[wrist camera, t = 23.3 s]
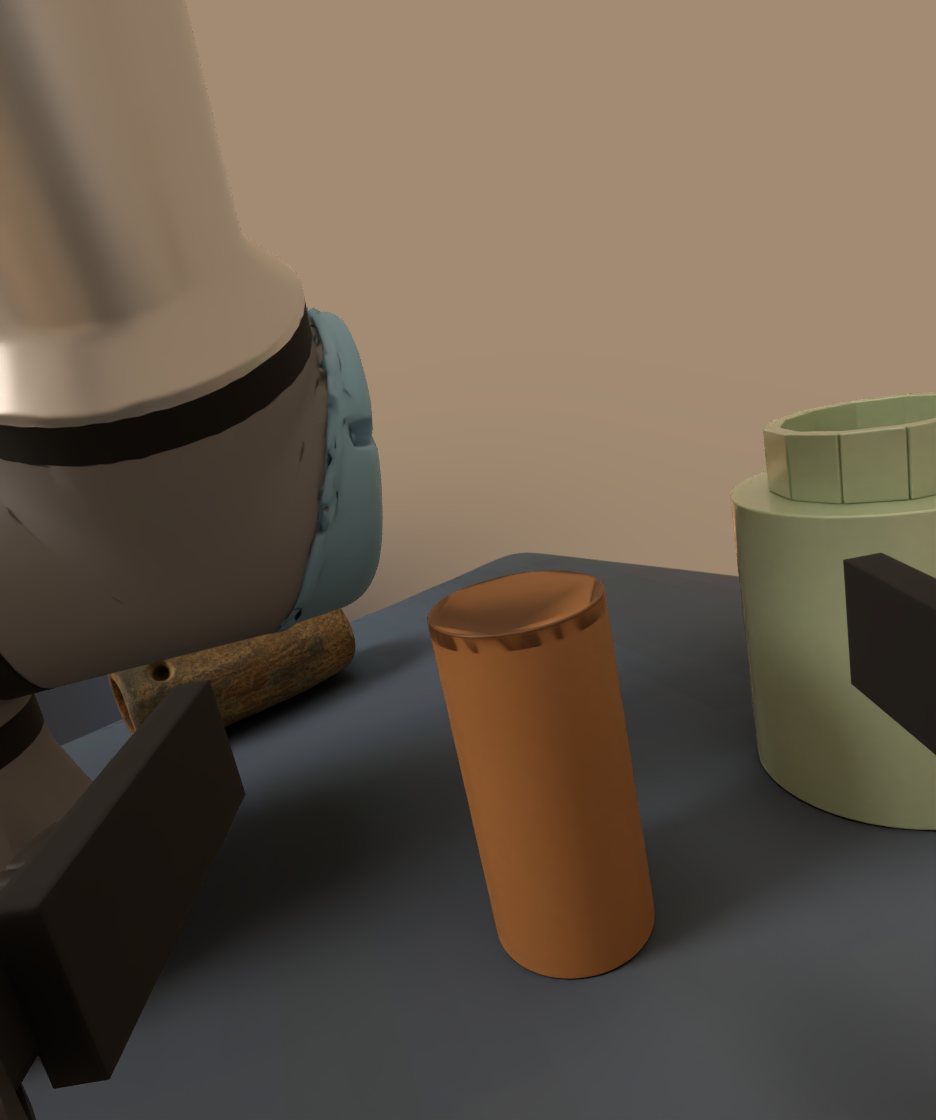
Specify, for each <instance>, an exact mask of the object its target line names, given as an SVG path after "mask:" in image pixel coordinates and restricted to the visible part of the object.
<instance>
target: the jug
mask: <svg viewBox="0 0 936 1120" xmlns="http://www.w3.org/2000/svg"><path fill="white" fill-rule="evenodd" d="M763 433H764V443H765V455H766V465H767V471H765V472H762V473H759V474H757V475H754V476H752V477H750V478H748V479H746V480H744V481H742V482H741V483H739V484H738V485H737V486H735V487H734V488H733V490H732V492H731V494H730V498H731V508H732V517H733V525H734V535H735V545H736V555H737V564H738V572H739V583H740V592H741V601H742V611H743V620H744V629H745V639H746V648H747V657H748V667H749V676H750V685H751V695H752V704H753V713H754V723H755V732H756V741H757V751H758V755H759V758H760V761H761V763H762V765H763V767H764V768H765V770H766V771H767V773H768V774H769V775H770V776H771V777H772V778H773V780H774V781H775V782H777V783H778V784H779V785H780V786H781V787H782V788H784V789H785V790H786V791H788V792H789V793H791V794H792V795H794V796H795V797H797V798H799V799H801V800H803V801H805V802H806V803H808V804H810V805H812V806H815V807H817V808H819V809H822V810H824V811H827V812H829V813H832V814H835V815H838V816H842V817H845V818H848V819H852V820H856V821H860V822H864V823H868V824H874V825H880V826H886V827H892V828H903V829H913V830H936V755H935V754H934V753H933V752H931V751H930V750H929V749H928V748H927V747H925V746H924V745H923V744H922V743H921V742H920V741H918V740H917V739H916V738H915V737H914V736H912V735H911V734H910V733H909V732H908V731H906V730H905V729H904V728H903V727H902V726H901V725H899V724H898V723H897V722H896V721H895V720H893V719H892V718H891V717H890V716H889V715H888V714H886V713H885V712H884V711H883V710H882V709H880V708H879V707H878V706H877V705H876V704H875V703H873V702H872V701H871V700H870V699H869V698H867V697H866V696H865V695H864V694H863V693H861V692H860V691H859V690H858V689H857V688H856V687H854V686H853V685H852V684H851V675H850V660H849V644H848V628H847V613H846V597H845V581H844V566H843V560H845V559H850V558H855V557H860V556H866V555H871V554H876V553H883V554H886V555H888V556H890V557H892V558H894V559H896V560H898V561H900V562H902V563H905V564H907V565H909V566H911V567H913V568H915V569H917V570H919V571H921V572H923V573H926V574H928V575H930V576H932V577H934V578H936V392H927V393H910V394H901V395H893V396H885V397H878V398H869V399H862V400H855V401H848V402H843V403H838V404H833V405H828V406H823V407H817V408H813V409H808V410H805V411H800V412H797V413H794V414H791V415H788V416H785V417H782V418H778V419H776V420H773V421H771V422H770V423H769V424H768V425H767V426H766V427H765V428H764V430H763Z"/></svg>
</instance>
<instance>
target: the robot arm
mask: <svg viewBox="0 0 936 1120" xmlns="http://www.w3.org/2000/svg"><path fill="white" fill-rule="evenodd" d="M372 430H373V427H372V411H371V402H370V397H369V391H368V386H367V382H366V378H365V374H364V370H363V367H362V363H361V359H360V356H359V353H358V350H357V348H356V345H355V342H354V340H353V338H352V336H351V333H350V331H349V329H348V327H347V326H346V324H345V323H344V321H343V320H342V319H340V318H339V317H338V316H336V315H335V314H333V313H331V312H320V311H318V310H316V309H315V308H312V309H310V310H308V308H306V303H305V298H304V293H303V289H302V284H301V281H300V279H299V277H298V275H297V273H296V272H295V271H294V270H293V269H292V268H291V267H290V266H289V265H288V264H287V263H286V262H285V261H283V260H282V259H281V258H279V257H278V256H276V255H275V254H273V253H272V252H270V251H268V250H267V249H265V248H264V247H262V246H261V245H259V244H258V243H256V242H255V241H253V240H252V239H250V238H249V237H247V236H245V235H244V234H243V233H242V232H241V229H240V225H239V221H238V217H237V213H236V209H235V204H234V200H233V196H232V192H231V188H230V184H229V180H228V175H227V171H226V167H225V163H224V159H223V155H222V151H221V146H220V143H219V138H218V134H217V130H216V126H215V122H214V117H213V113H212V109H211V105H210V101H209V97H208V93H207V88H206V84H205V80H204V76H203V72H202V68H201V64H200V59H199V55H198V51H197V47H196V43H195V39H194V35H193V31H192V26H191V22H190V18H189V14H188V10H187V6H186V2H185V0H0V1120H36V1118H35V1115H34V1112H33V1109H32V1106H31V1103H30V1101H29V1099H28V1096H27V1094H26V1092H25V1090H24V1088H23V1085H22V1083H21V1082H22V1080H23V1079H24V1077H25V1075H26V1074H27V1072H28V1070H29V1069H30V1067H31V1065H32V1064H33V1062H34V1060H35V1059H36V1057H37V1055H39V1057H40V1059H41V1061H42V1064H43V1066H44V1068H45V1070H46V1073H47V1075H48V1077H49V1079H50V1082H51V1084H52V1086H53V1088H54V1089H55V1088H61V1087H67V1086H73V1085H79V1084H85V1083H90V1082H96V1081H102V1080H108V1079H110V1077H111V1075H112V1073H113V1071H114V1069H115V1067H116V1064H117V1062H118V1060H119V1058H120V1056H121V1054H122V1052H123V1050H124V1048H125V1046H126V1044H127V1041H128V1039H129V1037H130V1035H131V1033H132V1031H133V1029H134V1027H135V1025H136V1023H137V1020H138V1018H139V1016H140V1014H141V1012H142V1010H143V1008H144V1006H145V1004H146V1002H147V1000H148V997H149V995H150V993H151V991H152V989H153V987H154V985H155V983H156V981H157V979H158V976H159V974H160V972H161V970H162V968H163V966H164V964H165V962H166V960H167V958H168V956H169V953H170V951H171V949H172V947H173V945H174V943H175V941H176V939H177V937H178V935H179V932H180V930H181V928H182V926H183V924H184V922H185V920H186V918H187V916H188V914H189V912H190V909H191V907H192V905H193V903H194V901H195V899H196V897H197V895H198V893H199V891H200V888H201V886H202V884H203V882H204V880H205V878H206V876H207V874H208V872H209V870H210V868H211V865H212V863H213V861H214V859H215V857H216V855H217V853H218V851H219V849H220V847H221V844H222V842H223V840H224V838H225V836H226V834H227V832H228V830H229V828H230V826H231V824H232V821H233V819H234V817H235V815H236V813H237V811H238V809H239V807H240V805H241V803H242V800H243V798H244V796H245V791H244V788H243V785H242V782H241V778H240V775H239V772H238V769H237V766H236V763H235V759H234V756H233V753H232V750H231V747H230V743H229V740H228V737H227V734H226V731H225V727H224V724H223V721H222V718H221V715H220V712H219V708H218V705H217V702H216V699H215V696H214V692H213V689H212V686H211V683H210V680H204V681H199V682H194V683H188V684H183V685H178V686H174V687H173V688H172V689H171V690H170V691H169V692H168V694H167V695H166V696H165V697H164V698H163V700H162V701H161V702H160V703H159V704H158V705H157V707H156V708H155V709H154V710H153V711H152V713H151V714H150V715H149V716H148V717H147V718H146V720H145V721H144V722H143V723H142V724H141V726H140V727H139V728H138V729H137V730H136V731H135V733H134V734H133V735H132V736H131V737H130V739H129V740H128V741H127V742H126V743H125V744H124V746H123V747H122V748H121V749H120V750H119V752H118V753H117V754H116V755H115V756H114V758H113V759H112V760H111V761H110V762H109V763H108V765H107V766H106V767H105V768H104V769H103V771H102V772H101V773H100V774H99V775H98V776H97V778H96V779H95V780H94V781H93V782H92V781H91V779H90V778H89V777H88V776H87V775H86V774H85V773H84V772H83V771H82V770H81V768H80V767H79V766H78V765H77V764H76V763H75V762H74V761H73V760H72V759H71V757H70V756H69V755H68V754H67V753H66V752H65V751H64V750H63V749H62V748H61V746H60V745H59V744H58V743H57V742H56V741H55V740H54V739H53V737H52V736H51V734H50V732H49V730H48V728H47V725H46V723H45V720H44V718H43V715H42V713H41V710H40V708H39V705H38V702H37V700H36V697H35V695H34V693H37V692H41V691H44V690H50V689H53V688H56V687H60V686H64V685H68V684H72V683H76V682H80V681H83V680H88V679H92V678H96V677H100V676H103V675H108V674H112V673H116V672H119V671H123V670H127V669H131V668H135V667H139V666H143V665H147V664H151V663H155V662H159V661H163V660H167V659H171V658H175V657H179V656H182V655H186V654H190V653H194V652H198V651H202V650H206V649H210V648H214V647H218V646H222V645H226V644H230V643H234V642H238V641H242V640H246V639H249V638H253V637H257V636H261V635H265V634H269V633H270V634H274V633H279V632H283V631H286V630H288V629H289V628H291V627H292V626H293V625H295V624H296V623H298V622H301V621H304V620H307V619H310V618H313V617H316V616H319V615H322V614H325V613H328V612H331V611H334V610H337V609H340V608H343V607H345V606H347V605H349V604H351V603H353V602H354V601H356V600H357V599H358V598H359V597H361V596H362V595H363V594H364V592H365V591H366V590H367V588H368V587H369V585H370V583H371V582H372V580H373V578H374V575H375V573H376V570H377V567H378V563H379V557H380V551H381V543H382V489H381V488H382V487H381V474H380V464H379V456H378V449H377V447H376V444H375V442H374V440H373V437H372ZM843 566H844V581H845V597H846V613H847V628H848V644H849V660H850V675H851V684H852V685H853V686H854V687H856V688H857V689H858V690H859V691H860V692H861V693H863V694H864V695H865V696H866V697H867V698H869V699H870V700H871V701H872V702H873V703H875V704H876V705H877V706H878V707H879V708H880V709H882V710H883V711H884V712H885V713H886V714H888V715H889V716H890V717H891V718H892V719H893V720H895V721H896V722H897V723H898V724H899V725H901V726H902V727H903V728H904V729H905V730H906V731H908V732H909V733H910V734H911V735H912V736H914V737H915V738H916V739H917V740H918V741H920V742H921V743H922V744H923V745H924V746H925V747H927V748H928V749H929V750H930V751H931V752H933V753H934V754H935V755H936V578H934V577H932V576H930V575H928V574H926V573H923V572H921V571H919V570H917V569H915V568H913V567H911V566H909V565H907V564H905V563H902V562H900V561H898V560H896V559H894V558H892V557H890V556H888V555H886V554H883V553H876V554H871V555H866V556H860V557H855V558H850V559H845V560H843Z"/></svg>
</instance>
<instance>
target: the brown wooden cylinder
mask: <svg viewBox="0 0 936 1120" xmlns="http://www.w3.org/2000/svg"><path fill="white" fill-rule="evenodd" d="M354 653H355V638H354V635H353V632H352V628H351V626H350V624H349V621H348V620H347V618H346V617H345V614H344V613H343V611H342V609H341V608H340V609H337V610H334V611H331V612H328V613H325V614H322V615H319V616H316V617H313V618H310V619H307V620H304V621H301V622H298V623H296V624H295V625H293V626H292V627H291V628H289V629H288V630H286V631H283V632H279V633H274V634H270V633H269V634H265V635H261V636H257V637H253V638H249V639H246V640H242V641H238V642H234V643H230V644H226V645H222V646H218V647H214V648H210V649H206V650H202V651H198V652H194V653H190V654H186V655H182V656H179V657H175V658H171V659H167V660H163V661H159V662H155V663H151V664H147V665H143V666H139V667H135V668H131V669H127V670H123V671H119V672H116V673H112V674H108V678H109V682H110V686H111V689H112V692H113V695H114V698H115V701H116V704H117V706H118V709H119V711H120V713H121V715H122V717H123V719H124V721H125V723H126V725H127V727H128V729H129V730H130V732H131V733H132V735H133V734H134V733H135V731H136V730H137V729H138V728H139V727H140V726H141V724H142V723H143V722H144V721H145V720H146V718H147V717H148V716H149V715H150V714H151V713H152V711H153V710H154V709H155V708H156V707H157V705H158V704H159V703H160V702H161V701H162V700H163V698H164V697H165V696H166V695H167V694H168V692H169V691H170V690H171V689H172V688H173V687H174V686H178V685H183V684H188V683H194V682H199V681H204V680H210V683H211V686H212V689H213V692H214V696H215V699H216V702H217V705H218V708H219V712H220V715H221V718H222V721H223V724H224V727H227V726H229V725H231V724H233V723H235V722H238V721H240V720H242V719H245V718H247V717H250V716H252V715H254V714H256V713H259V712H262V711H264V710H265V709H267V708H270V707H272V706H274V705H276V704H279V703H281V702H283V701H285V700H288V699H290V698H292V697H294V696H296V695H297V694H299V693H302V692H304V691H306V690H308V689H310V688H312V687H313V686H315V685H317V684H318V683H320V682H322V681H324V680H326V679H328V678H329V677H331V676H333V675H334V674H336V673H337V672H339V671H340V670H342V669H343V668H345V667H346V666H347V665H348V664H349V663H350V662H351V660H352V659H353V656H354Z"/></svg>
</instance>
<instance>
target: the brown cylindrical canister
mask: <svg viewBox="0 0 936 1120" xmlns="http://www.w3.org/2000/svg"><path fill="white" fill-rule="evenodd" d="M427 621H428V626H429V630H430V635H431V639H432V644H433V648H434V653H435V657H436V662H437V666H438V671H439V675H440V679H441V684H442V688H443V693H444V697H445V702H446V706H447V711H448V715H449V720H450V724H451V728H452V733H453V737H454V742H455V746H456V751H457V755H458V760H459V764H460V769H461V773H462V777H463V782H464V786H465V791H466V795H467V800H468V804H469V809H470V813H471V817H472V822H473V826H474V831H475V835H476V840H477V844H478V849H479V853H480V858H481V862H482V866H483V871H484V875H485V880H486V884H487V889H488V893H489V898H490V902H491V907H492V911H493V915H494V920H495V924H496V929H497V933H498V937H499V939H500V942H501V944H502V946H503V948H504V949H505V950H506V952H507V953H508V954H509V955H510V957H511V958H513V959H514V960H515V961H516V962H517V963H519V964H520V965H521V966H523V967H524V968H526V969H528V970H530V971H533V972H535V973H538V974H541V975H544V976H549V977H553V978H563V979H577V978H586V977H591V976H595V975H599V974H602V973H605V972H608V971H611V970H613V969H615V968H617V967H619V966H621V965H622V964H624V963H625V962H627V961H628V960H630V959H631V958H632V957H633V956H635V955H636V954H637V953H638V952H639V951H640V950H641V948H642V947H643V946H644V945H645V943H646V942H647V940H648V938H649V936H650V934H651V932H652V929H653V926H654V921H655V907H654V901H653V894H652V888H651V882H650V875H649V869H648V863H647V856H646V850H645V843H644V837H643V831H642V824H641V818H640V812H639V805H638V799H637V792H636V786H635V780H634V773H633V767H632V761H631V754H630V748H629V741H628V735H627V729H626V722H625V716H624V710H623V703H622V697H621V691H620V684H619V678H618V671H617V665H616V659H615V652H614V646H613V640H612V633H611V627H610V620H609V614H608V608H607V601H606V595H605V589H604V586H603V584H602V583H601V581H600V580H598V579H597V578H595V577H593V576H591V575H588V574H584V573H579V572H572V571H534V572H525V573H518V574H512V575H507V576H502V577H498V578H494V579H490V580H486V581H483V582H480V583H477V584H474V585H471V586H468V587H466V588H463V589H461V590H459V591H457V592H454V593H452V594H451V595H449V596H447V597H445V598H444V599H442V600H441V601H439V602H438V603H437V604H436V605H435V606H434V607H433V608H432V609H431V610H430V612H429V614H428V617H427Z"/></svg>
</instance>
